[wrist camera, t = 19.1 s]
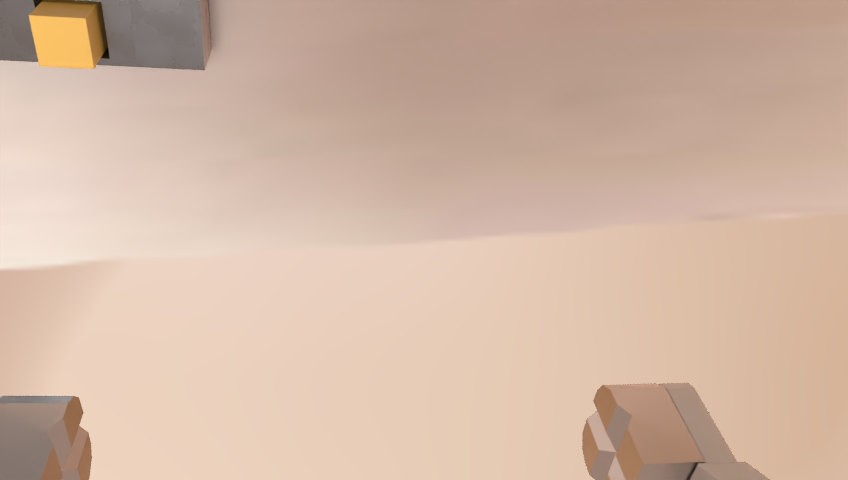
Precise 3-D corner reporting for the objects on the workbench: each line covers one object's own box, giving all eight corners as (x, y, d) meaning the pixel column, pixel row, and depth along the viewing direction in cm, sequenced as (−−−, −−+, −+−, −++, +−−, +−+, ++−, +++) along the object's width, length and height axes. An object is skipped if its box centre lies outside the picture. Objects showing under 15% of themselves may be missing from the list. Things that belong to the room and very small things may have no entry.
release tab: (106, -9, 36) (85, 18, 32) (112, 38, 37) (93, 68, 34) (54, -12, 35) (28, 15, 32) (63, 35, 37) (39, 66, 33)
